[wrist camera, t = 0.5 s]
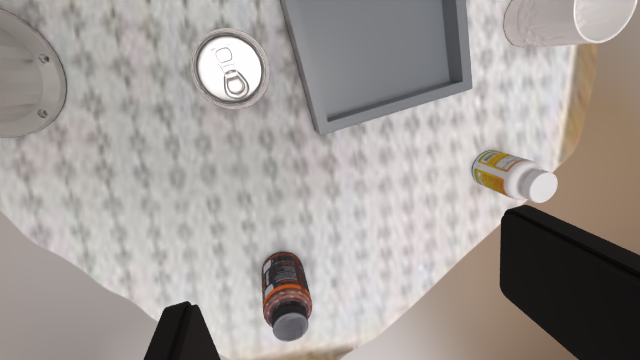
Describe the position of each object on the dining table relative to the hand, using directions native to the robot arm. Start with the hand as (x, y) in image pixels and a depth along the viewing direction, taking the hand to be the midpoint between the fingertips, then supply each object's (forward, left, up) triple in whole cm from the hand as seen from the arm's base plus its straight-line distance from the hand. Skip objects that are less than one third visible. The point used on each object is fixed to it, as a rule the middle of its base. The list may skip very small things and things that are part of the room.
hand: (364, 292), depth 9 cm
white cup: (+35, +5, -31) cm, 47 cm away
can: (-3, +8, -31) cm, 32 cm away
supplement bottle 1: (-6, -19, -31) cm, 37 cm away
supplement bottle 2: (+28, -14, -31) cm, 44 cm away
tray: (+14, +8, -31) cm, 35 cm away
